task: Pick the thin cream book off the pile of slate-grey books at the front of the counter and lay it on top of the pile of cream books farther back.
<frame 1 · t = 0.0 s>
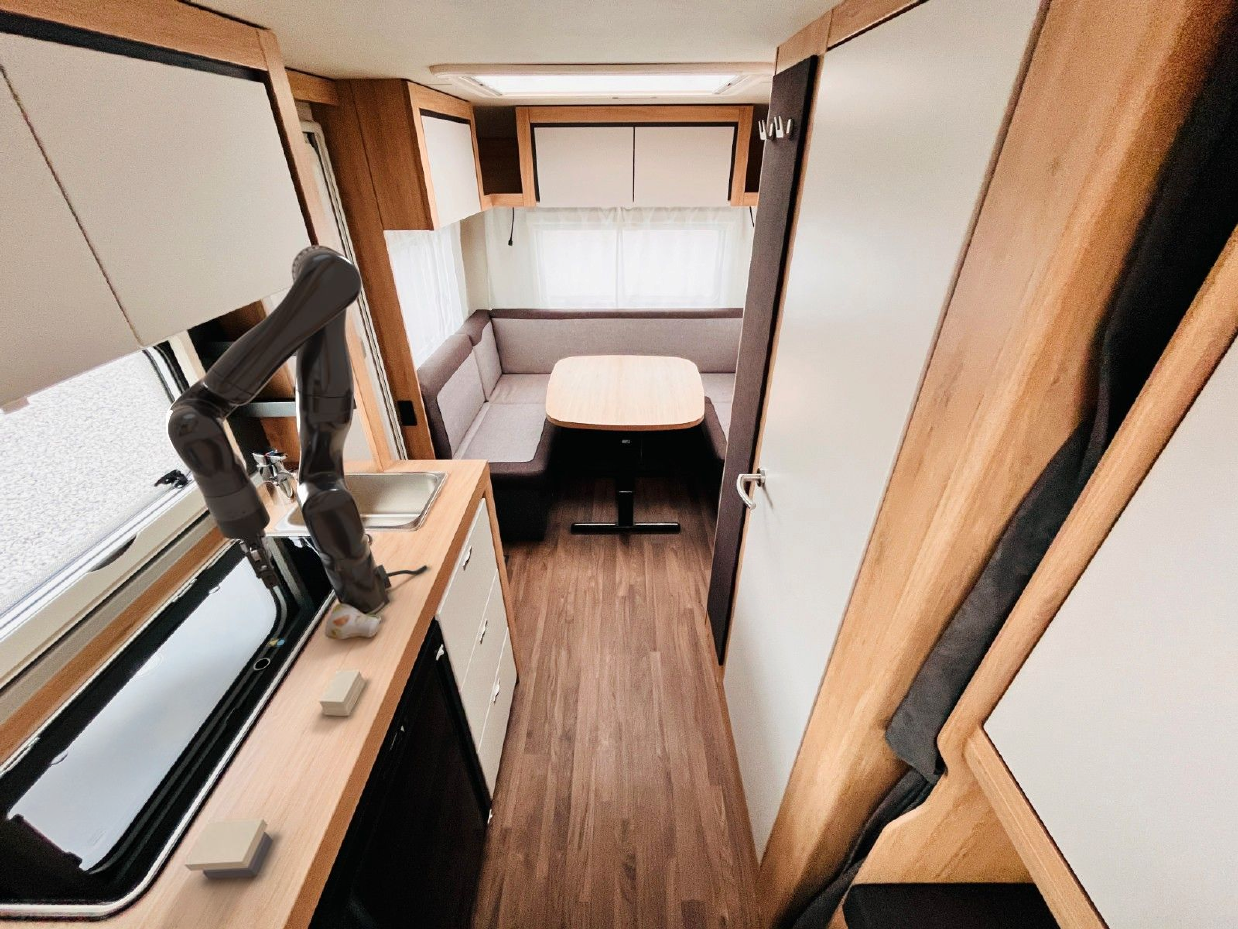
hand: (270, 573, 99), 17 cm above the worktop, tool pointing down, fingers open, 8 cm apart
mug: (358, 632, 108), on the worktop
white stack: (345, 698, 95), on the worktop
white book: (230, 847, 71), point 4 cm above the worktop, touching grey stack
grey stack: (241, 859, 74), on the worktop
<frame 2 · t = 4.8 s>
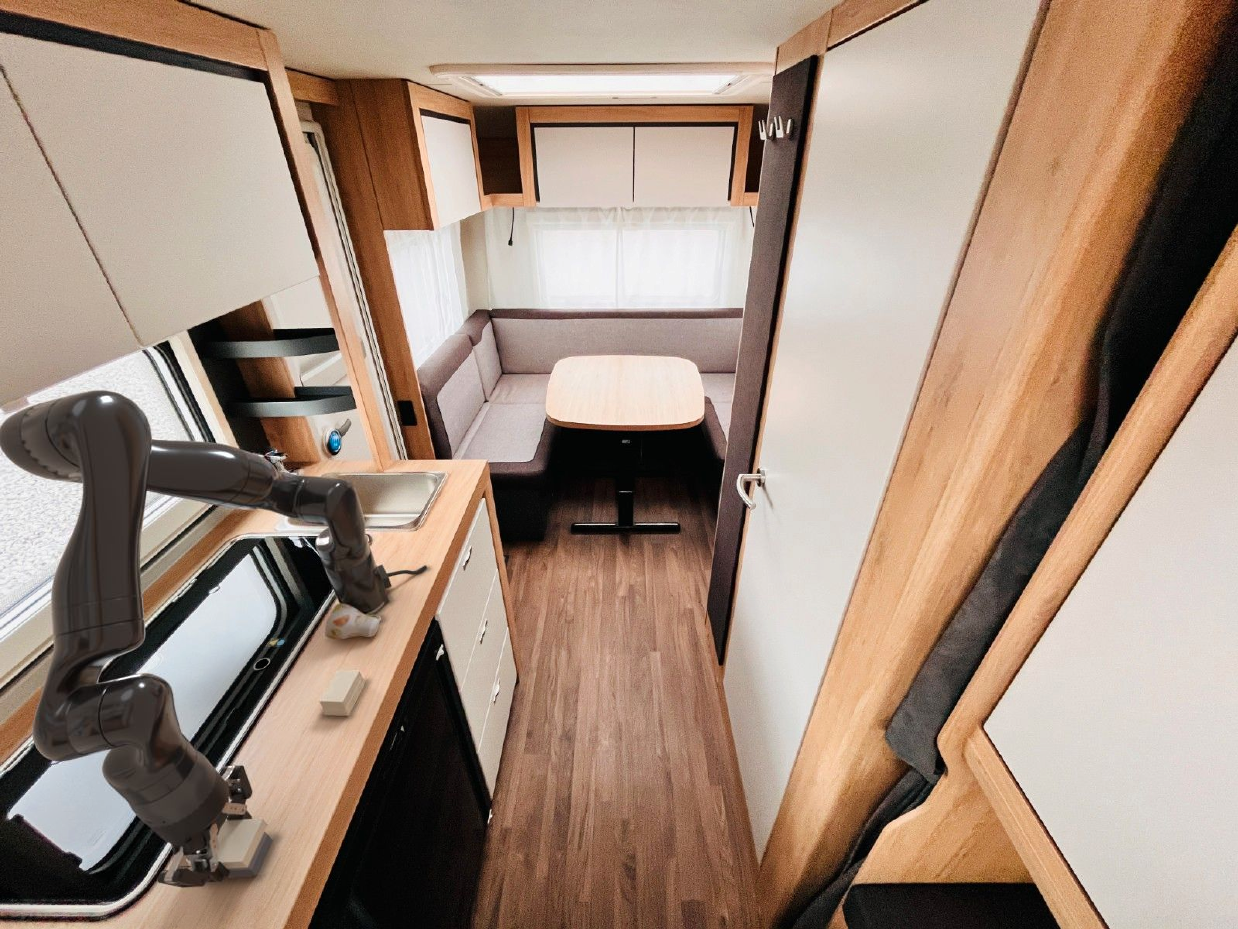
hand: (234, 851, 72), 3 cm above the worktop, tool pointing down, fingers closed on white book, 5 cm apart
white book: (230, 847, 71), point 4 cm above the worktop, touching grey stack, gripper
everything else where it was.
when the fingers open (3 cm above the worktop, at t = 13.8 s): white book stays where it is, resting on white stack.
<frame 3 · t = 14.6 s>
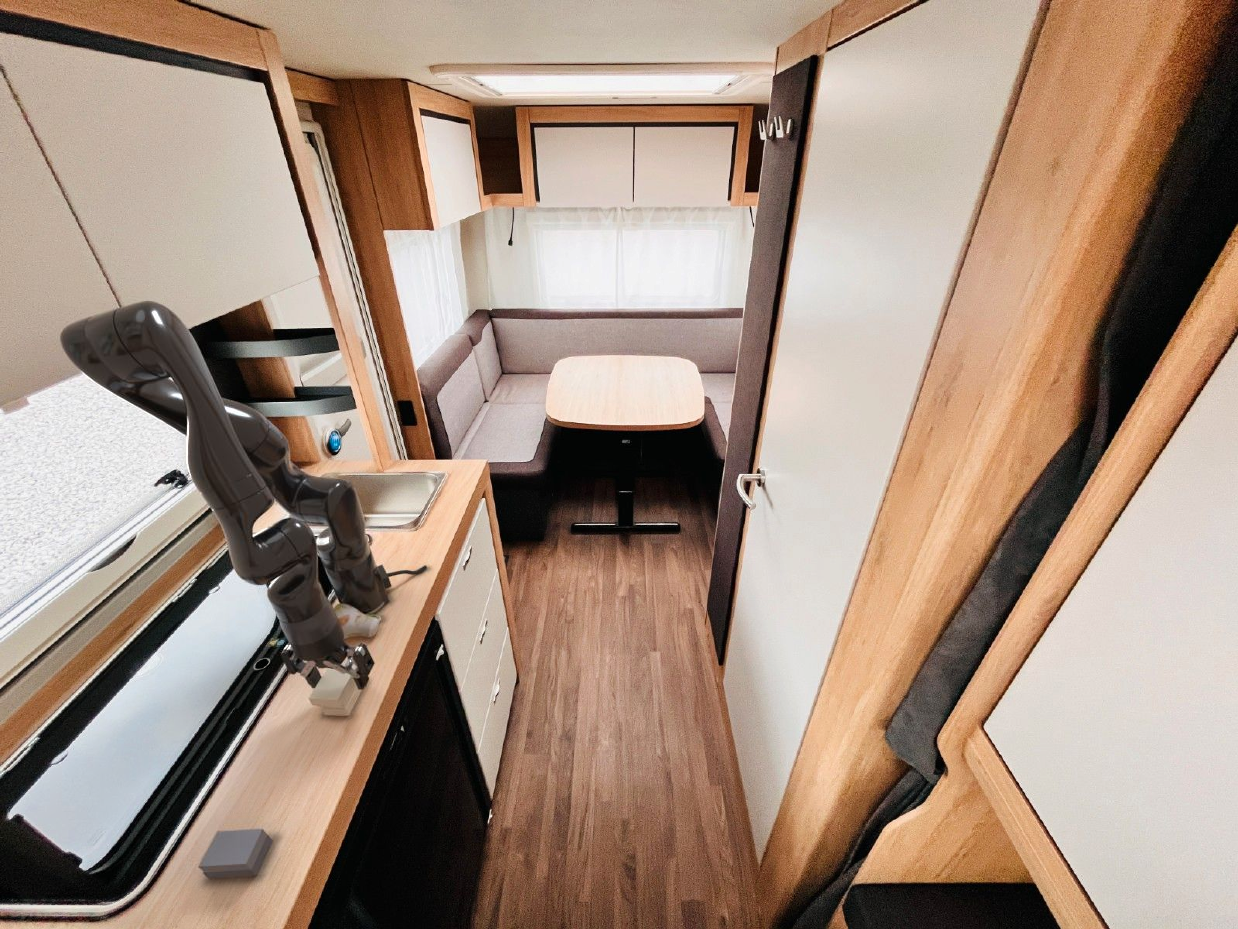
hand: (340, 684, 93), 4 cm above the worktop, tool pointing down, fingers open, 8 cm apart
white book: (337, 686, 93), point 4 cm above the worktop, touching white stack
everything else where it was.
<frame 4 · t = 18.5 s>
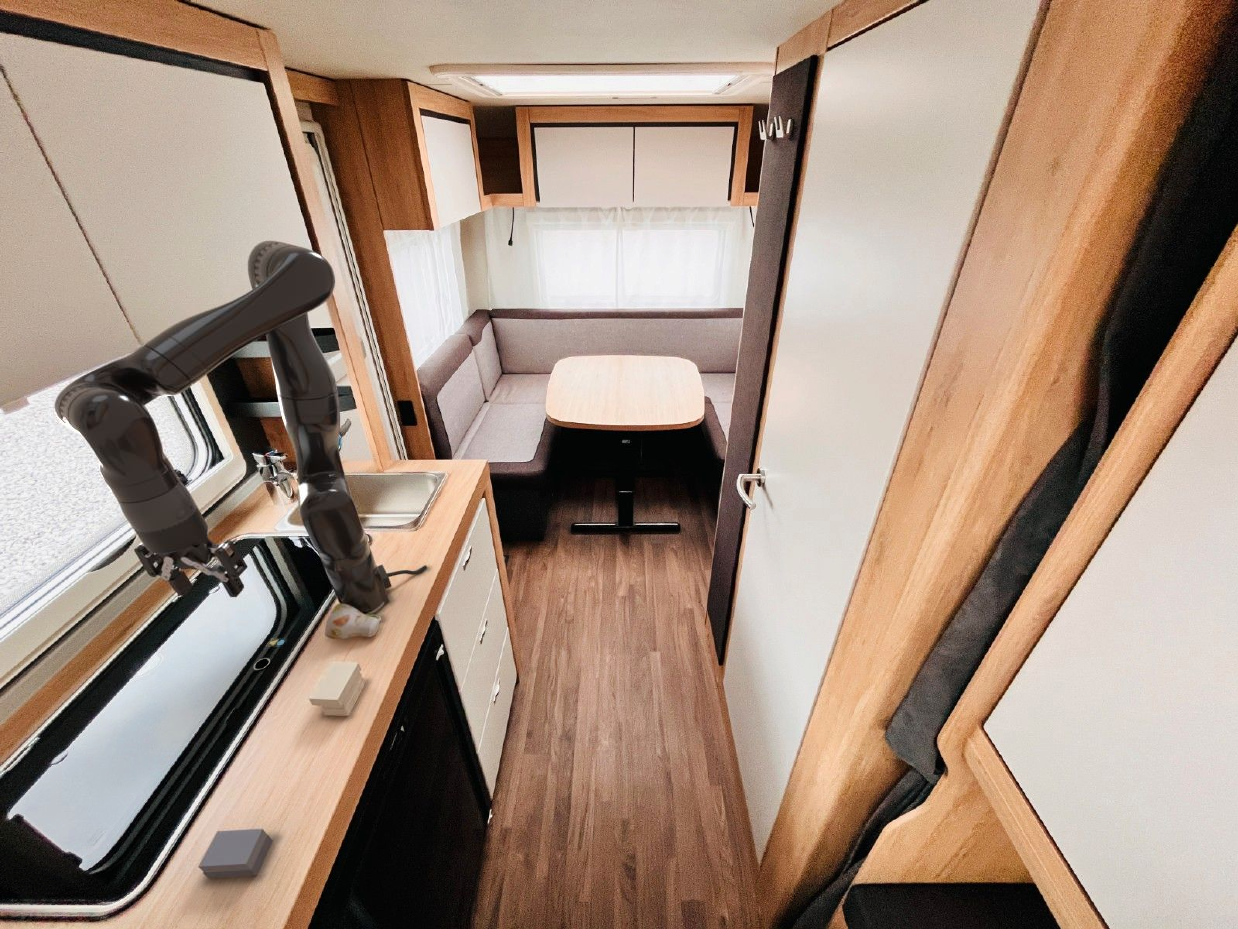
hand: (212, 592, 82), 26 cm above the worktop, tool pointing down, fingers open, 8 cm apart
nothing on the worktop moved.
at the end: white book 0.3 cm off-centre on the white stack, point 4.0 cm above the white stack's base; white book tilted 0°; the gripper is holding nothing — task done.
